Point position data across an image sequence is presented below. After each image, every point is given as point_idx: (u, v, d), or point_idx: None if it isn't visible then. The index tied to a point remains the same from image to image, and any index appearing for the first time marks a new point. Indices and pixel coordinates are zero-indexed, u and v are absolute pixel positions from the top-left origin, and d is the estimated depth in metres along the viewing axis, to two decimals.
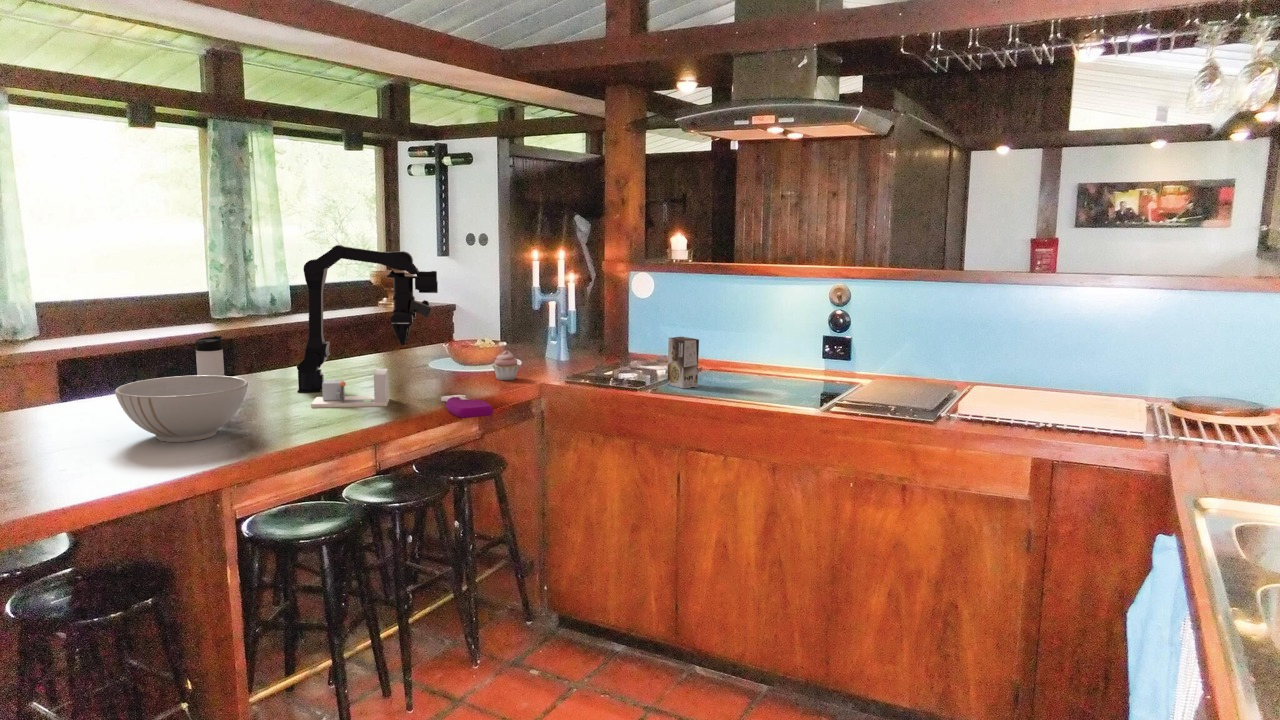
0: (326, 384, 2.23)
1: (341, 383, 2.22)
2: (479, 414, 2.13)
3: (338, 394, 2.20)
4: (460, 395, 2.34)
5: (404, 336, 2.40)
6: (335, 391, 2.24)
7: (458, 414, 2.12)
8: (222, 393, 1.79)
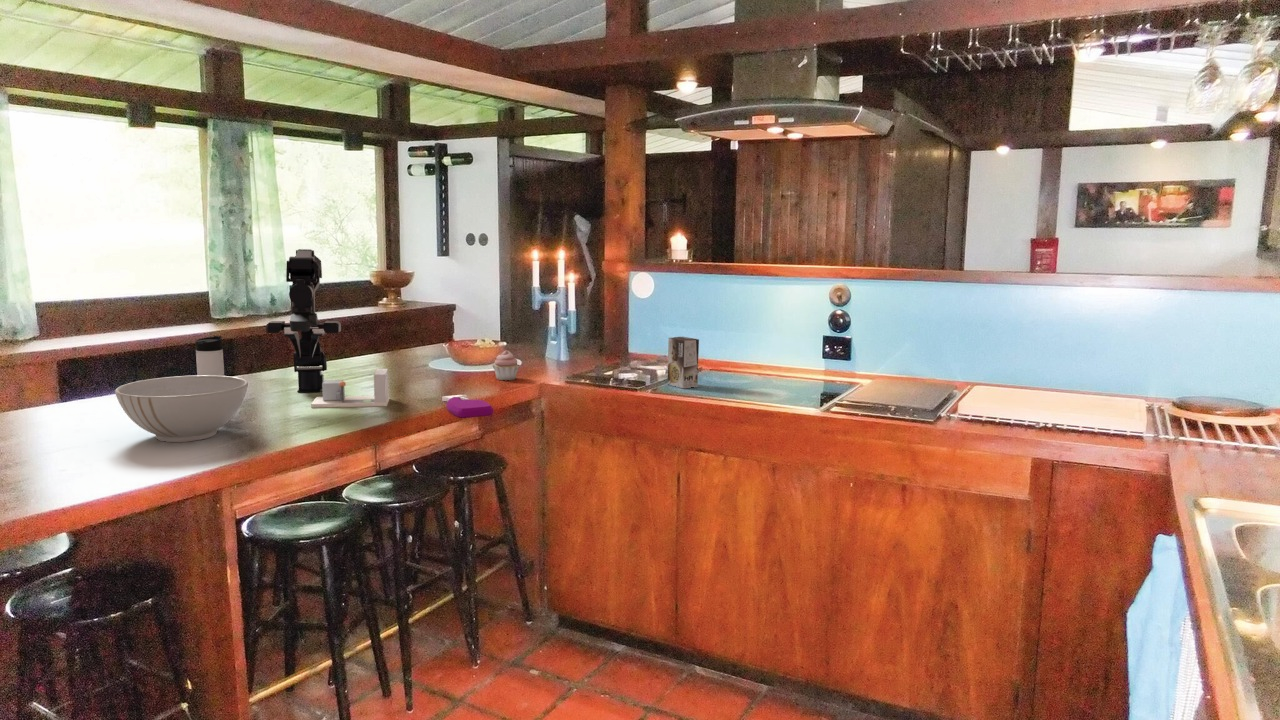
0: (326, 384, 2.23)
1: (341, 383, 2.22)
2: (479, 414, 2.13)
3: (338, 394, 2.20)
4: (461, 395, 2.34)
5: None
6: (335, 391, 2.24)
7: (458, 414, 2.12)
8: (222, 393, 1.79)
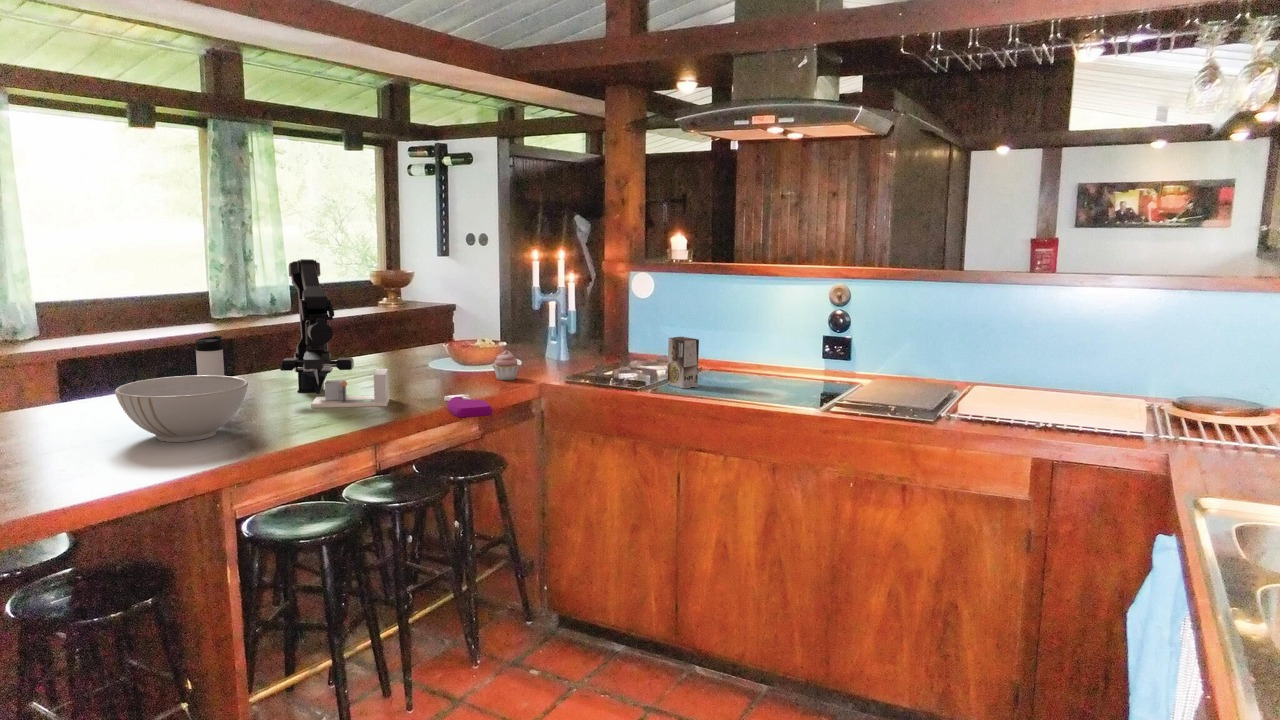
0: (329, 384, 2.23)
1: (343, 383, 2.22)
2: (478, 414, 2.13)
3: (341, 394, 2.21)
4: (463, 395, 2.35)
5: None
6: (338, 391, 2.24)
7: (457, 414, 2.12)
8: (223, 393, 1.79)
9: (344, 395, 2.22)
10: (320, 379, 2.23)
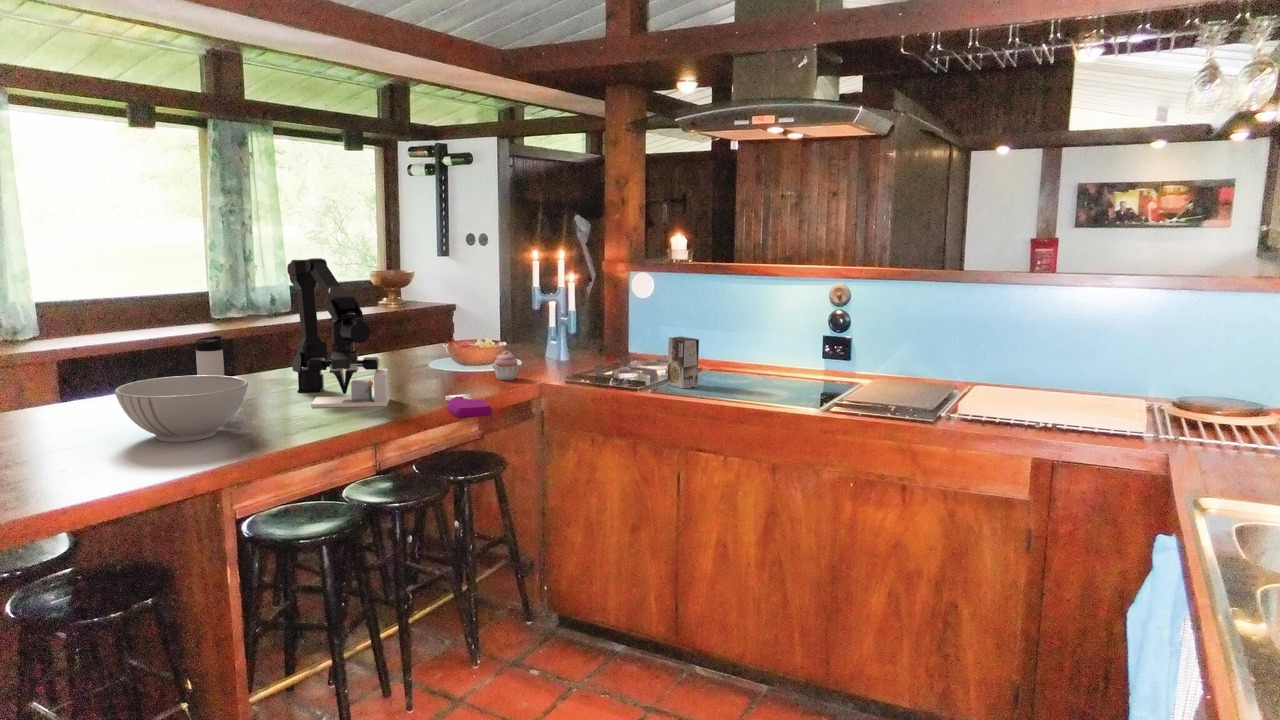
0: (355, 384, 2.24)
1: (369, 383, 2.23)
2: (477, 414, 2.13)
3: (367, 393, 2.22)
4: (464, 395, 2.35)
5: None
6: (364, 390, 2.25)
7: (456, 414, 2.12)
8: (223, 393, 1.79)
9: (370, 394, 2.23)
10: (346, 379, 2.25)
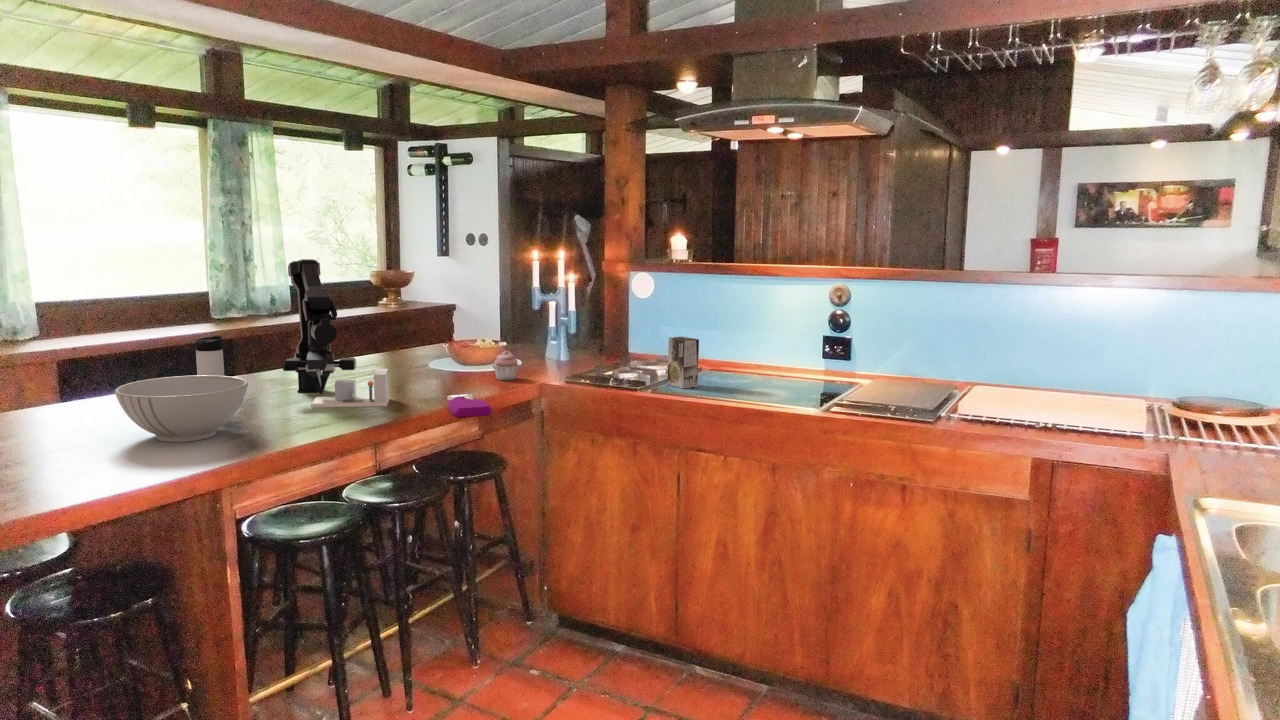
0: (339, 384, 2.23)
1: (369, 383, 2.23)
2: (476, 414, 2.13)
3: (351, 394, 2.21)
4: (466, 394, 2.35)
5: None
6: (348, 391, 2.24)
7: (455, 414, 2.12)
8: (223, 393, 1.79)
9: (370, 394, 2.23)
10: (323, 379, 2.23)
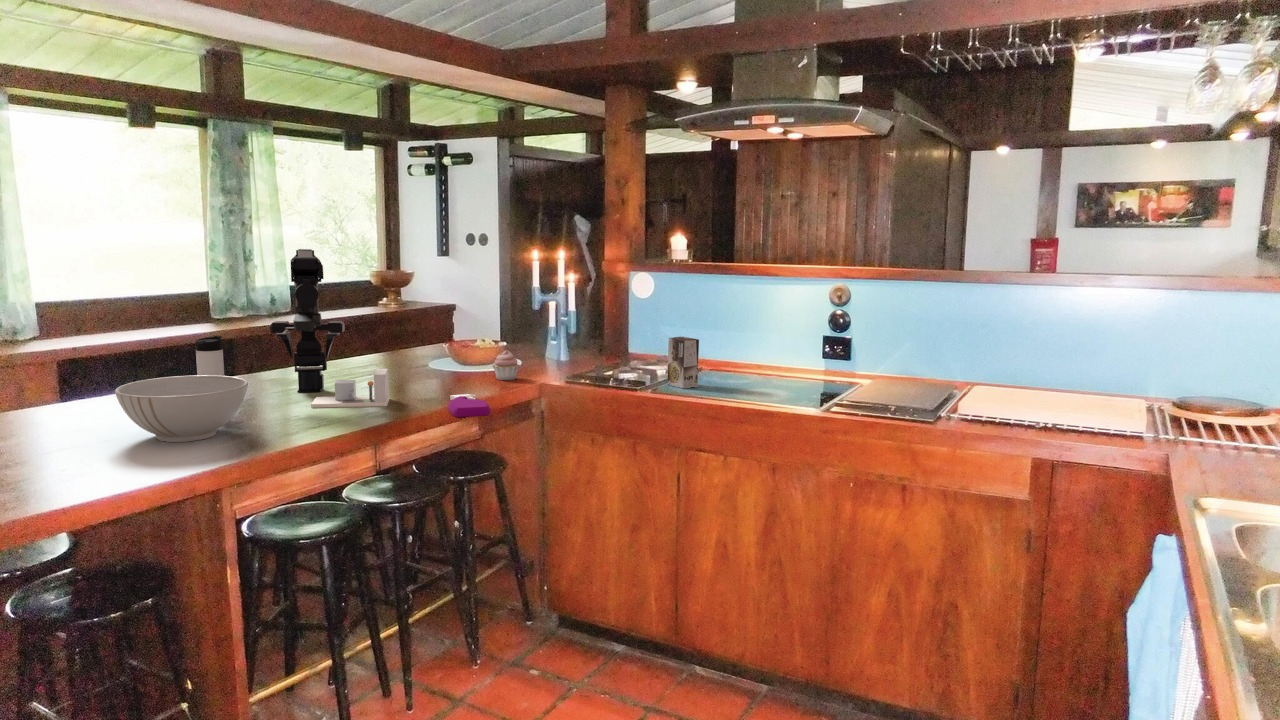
0: (339, 384, 2.23)
1: (369, 383, 2.23)
2: (474, 414, 2.13)
3: (351, 394, 2.21)
4: (469, 394, 2.35)
5: None
6: (347, 391, 2.24)
7: (454, 413, 2.13)
8: (223, 393, 1.79)
9: (370, 394, 2.23)
10: (327, 342, 2.22)
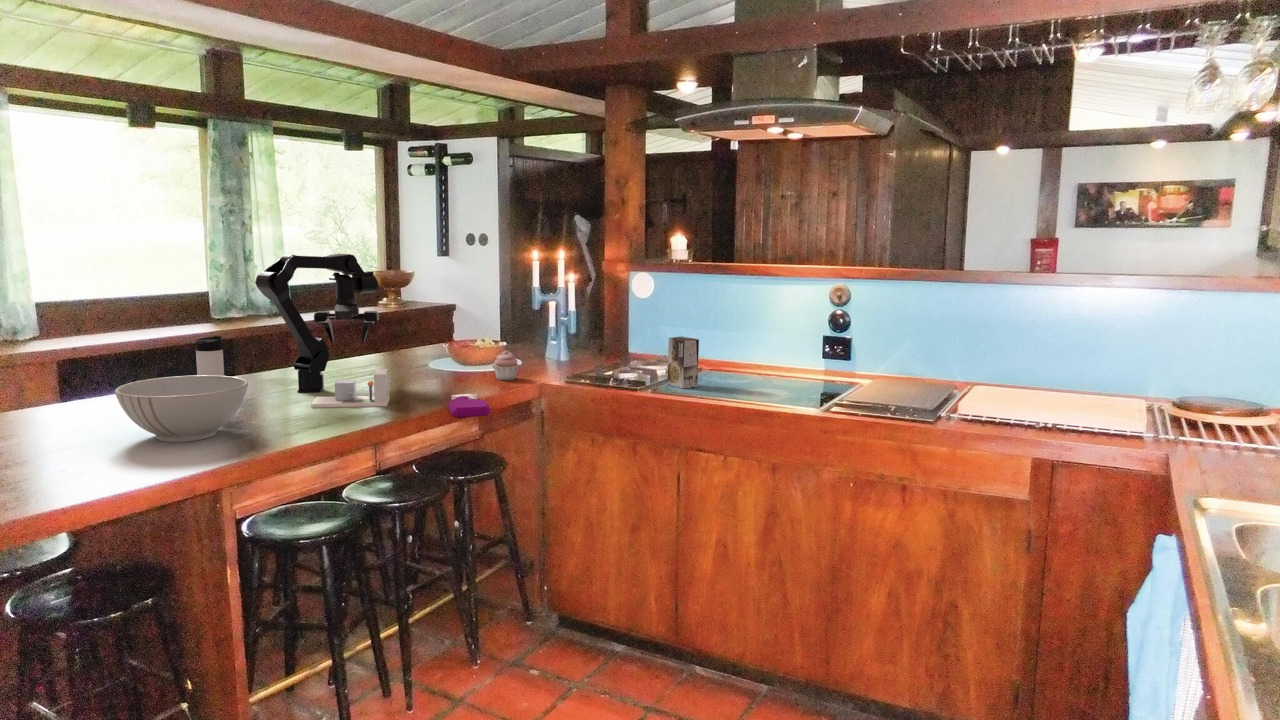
0: (339, 384, 2.23)
1: (369, 383, 2.23)
2: (474, 414, 2.13)
3: (351, 394, 2.21)
4: (471, 394, 2.35)
5: None
6: (347, 391, 2.24)
7: (453, 413, 2.13)
8: (223, 393, 1.79)
9: (370, 394, 2.23)
10: (364, 330, 2.50)
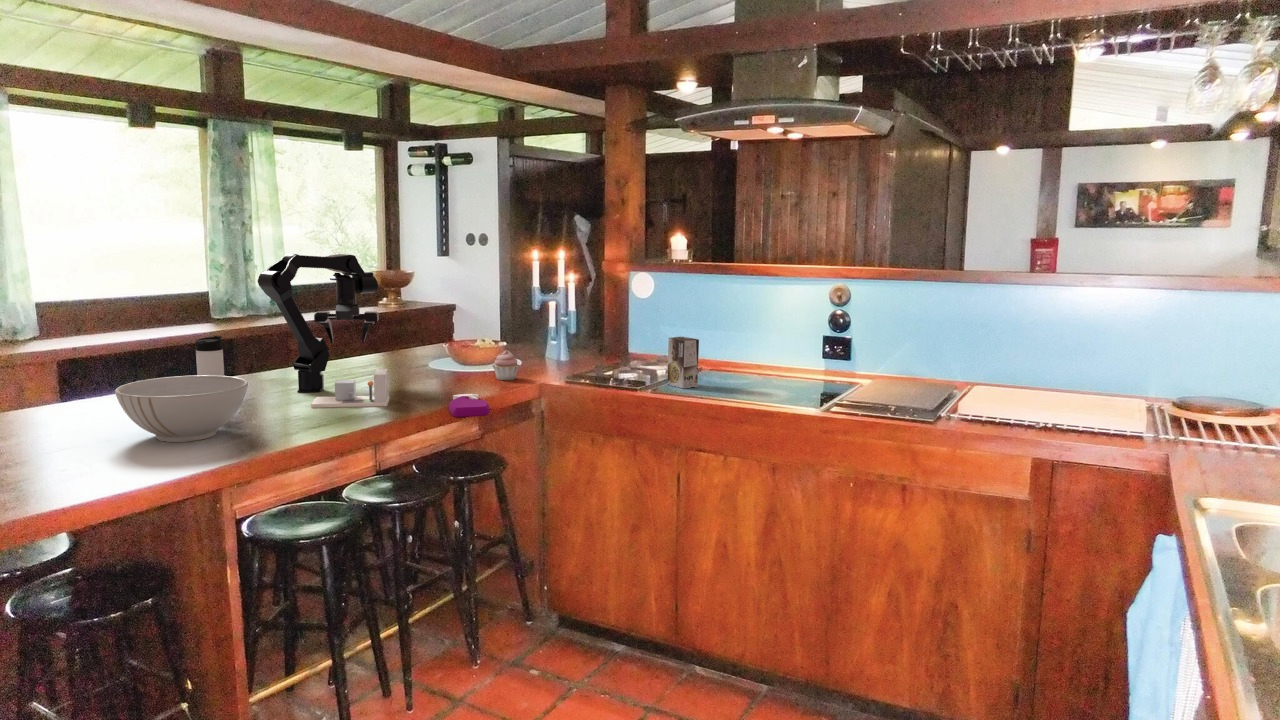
0: (339, 384, 2.23)
1: (369, 383, 2.23)
2: (473, 414, 2.13)
3: (351, 394, 2.21)
4: (472, 394, 2.36)
5: None
6: (347, 391, 2.24)
7: (452, 413, 2.13)
8: (223, 393, 1.79)
9: (370, 394, 2.23)
10: (364, 330, 2.51)
